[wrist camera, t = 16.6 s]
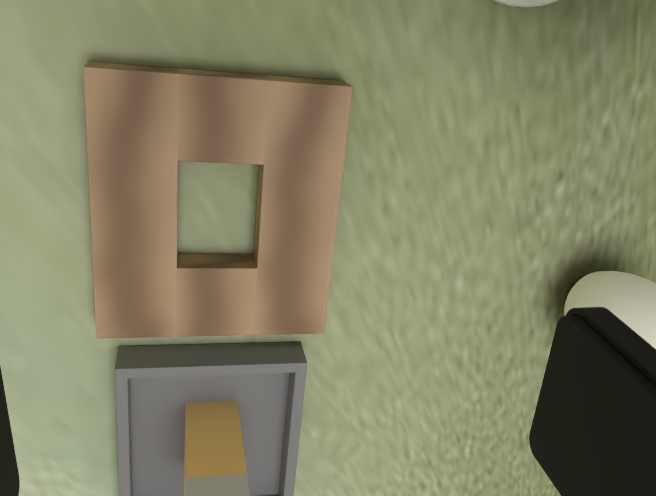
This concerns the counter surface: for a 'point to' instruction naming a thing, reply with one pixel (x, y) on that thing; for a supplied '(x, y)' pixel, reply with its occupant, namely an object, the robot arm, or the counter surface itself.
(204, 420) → the block
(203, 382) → the parts tray
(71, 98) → the counter surface
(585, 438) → the robot arm
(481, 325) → the counter surface
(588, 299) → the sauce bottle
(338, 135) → the wooden plate with hole
